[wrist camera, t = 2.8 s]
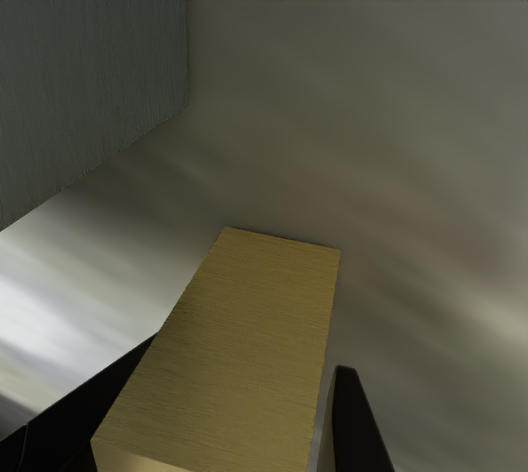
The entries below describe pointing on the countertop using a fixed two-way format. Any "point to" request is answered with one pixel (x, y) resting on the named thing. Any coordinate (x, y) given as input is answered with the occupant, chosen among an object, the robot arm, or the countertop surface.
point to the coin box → (82, 88)
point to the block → (230, 365)
